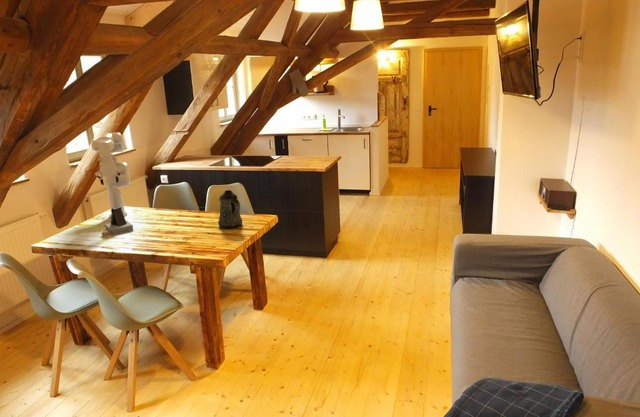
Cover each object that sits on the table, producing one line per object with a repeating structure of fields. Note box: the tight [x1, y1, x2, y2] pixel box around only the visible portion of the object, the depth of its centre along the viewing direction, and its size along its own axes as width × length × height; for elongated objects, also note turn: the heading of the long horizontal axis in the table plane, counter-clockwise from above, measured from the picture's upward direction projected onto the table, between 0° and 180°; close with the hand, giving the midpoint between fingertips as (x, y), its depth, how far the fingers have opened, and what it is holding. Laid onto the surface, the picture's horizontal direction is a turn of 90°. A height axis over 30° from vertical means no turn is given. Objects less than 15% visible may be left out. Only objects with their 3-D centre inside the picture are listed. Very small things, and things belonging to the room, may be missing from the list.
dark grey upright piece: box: [217, 189, 243, 230], centre depth 320 cm, size 16×19×25 cm
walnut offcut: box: [101, 230, 112, 238], centre depth 310 cm, size 5×4×3 cm
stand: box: [104, 220, 134, 236], centre depth 321 cm, size 16×14×4 cm
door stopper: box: [110, 207, 127, 226], centre depth 320 cm, size 9×6×12 cm, turn 62°
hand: (110, 183), depth 326 cm, fingers open, 9 cm apart
